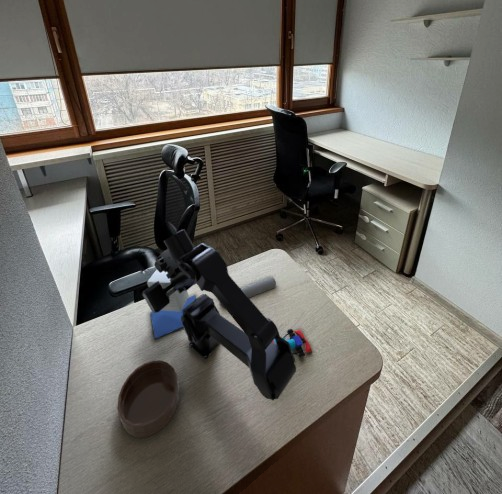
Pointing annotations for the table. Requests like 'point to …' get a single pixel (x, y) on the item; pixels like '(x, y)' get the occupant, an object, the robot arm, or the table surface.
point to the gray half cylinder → (259, 287)
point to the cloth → (168, 320)
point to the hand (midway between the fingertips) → (169, 285)
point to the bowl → (148, 398)
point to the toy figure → (297, 342)
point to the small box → (175, 299)
